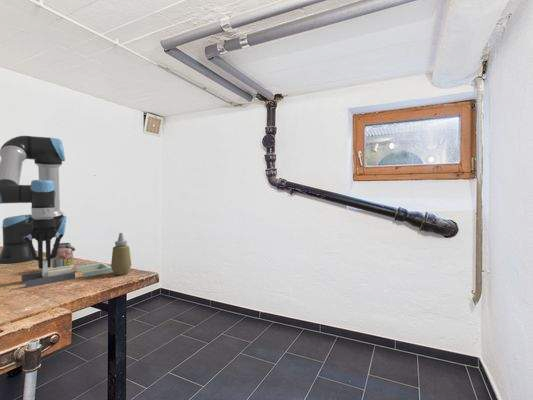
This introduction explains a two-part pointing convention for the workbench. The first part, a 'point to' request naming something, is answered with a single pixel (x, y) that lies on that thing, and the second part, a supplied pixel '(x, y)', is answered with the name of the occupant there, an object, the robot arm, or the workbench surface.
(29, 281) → the chute
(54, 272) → the block
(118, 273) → the squeeze bottle
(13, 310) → the workbench surface
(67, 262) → the beverage can
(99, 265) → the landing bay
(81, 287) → the workbench surface
